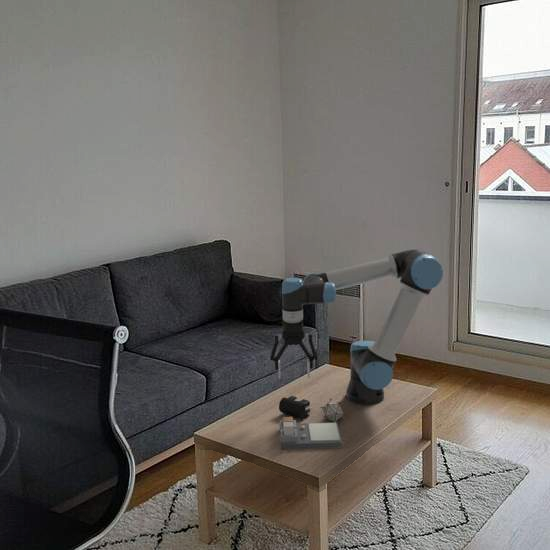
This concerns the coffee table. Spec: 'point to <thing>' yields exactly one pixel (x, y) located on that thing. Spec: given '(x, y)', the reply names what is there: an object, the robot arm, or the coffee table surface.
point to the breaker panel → (311, 436)
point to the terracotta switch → (287, 419)
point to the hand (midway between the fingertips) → (294, 377)
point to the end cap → (294, 407)
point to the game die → (332, 411)
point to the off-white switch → (288, 428)
